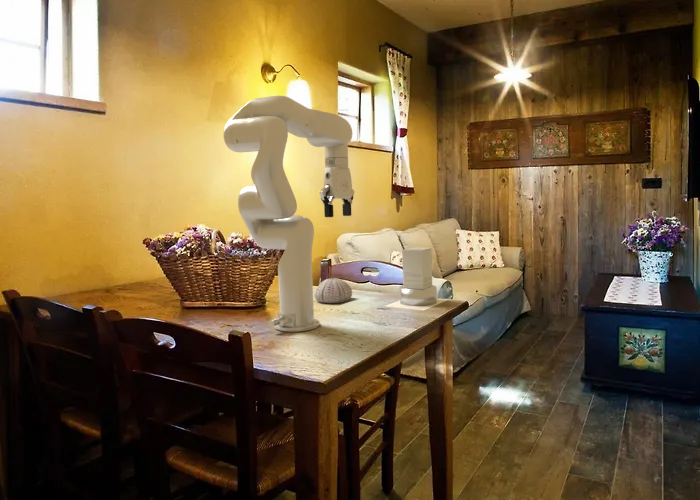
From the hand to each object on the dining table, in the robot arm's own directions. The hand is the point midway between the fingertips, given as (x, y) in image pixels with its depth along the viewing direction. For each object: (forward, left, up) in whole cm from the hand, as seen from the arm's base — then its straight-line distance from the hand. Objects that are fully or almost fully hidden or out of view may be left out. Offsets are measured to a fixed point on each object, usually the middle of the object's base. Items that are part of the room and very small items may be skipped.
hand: (338, 216), depth 176 cm
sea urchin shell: (+5, +7, -30) cm, 31 cm away
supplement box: (+11, -23, -24) cm, 35 cm away
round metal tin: (+11, -23, -29) cm, 38 cm away
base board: (+10, -23, -30) cm, 39 cm away
